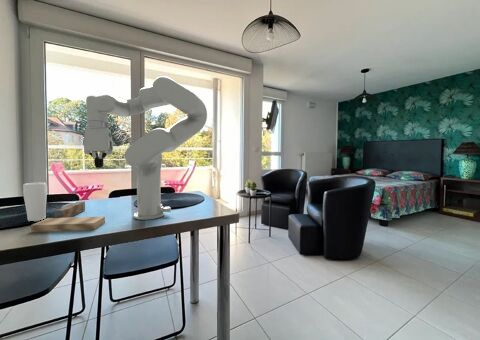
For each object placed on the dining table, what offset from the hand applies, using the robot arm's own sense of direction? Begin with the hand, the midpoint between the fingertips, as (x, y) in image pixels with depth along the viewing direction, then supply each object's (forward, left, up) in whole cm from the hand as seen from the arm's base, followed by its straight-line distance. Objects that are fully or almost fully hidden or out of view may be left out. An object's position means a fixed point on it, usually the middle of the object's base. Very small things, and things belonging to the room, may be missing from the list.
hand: (99, 167), depth 93 cm
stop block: (+14, -3, -21) cm, 26 cm away
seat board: (+3, +16, -21) cm, 27 cm away
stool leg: (+11, +2, -21) cm, 24 cm away
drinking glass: (+21, +6, -21) cm, 31 cm away
